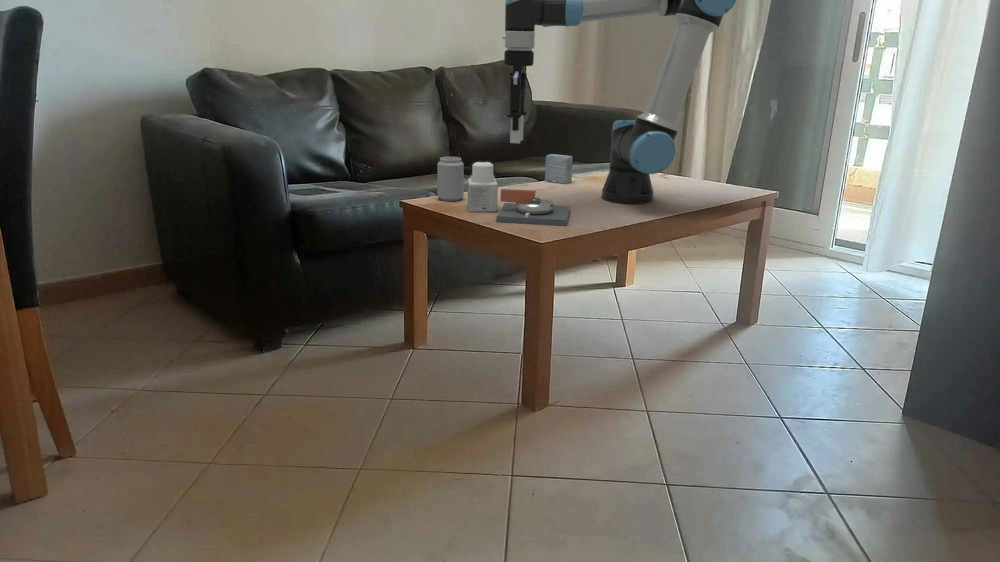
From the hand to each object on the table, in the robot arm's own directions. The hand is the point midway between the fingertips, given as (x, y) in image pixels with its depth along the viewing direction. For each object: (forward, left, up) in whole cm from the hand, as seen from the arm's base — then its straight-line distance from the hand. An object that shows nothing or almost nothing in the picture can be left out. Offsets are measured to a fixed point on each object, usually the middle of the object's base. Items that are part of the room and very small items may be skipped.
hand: (516, 141), depth 192 cm
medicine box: (-9, -44, -19) cm, 49 cm away
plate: (-6, +6, -19) cm, 21 cm away
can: (+20, -10, -19) cm, 29 cm away
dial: (-4, +6, -17) cm, 18 cm away
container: (+9, 0, -19) cm, 21 cm away
